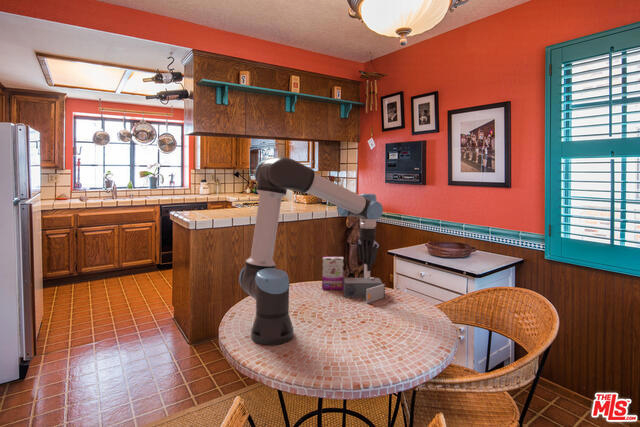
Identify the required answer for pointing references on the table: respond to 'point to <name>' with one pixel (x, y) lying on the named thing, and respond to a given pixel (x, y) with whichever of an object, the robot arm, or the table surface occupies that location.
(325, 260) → the candy bar box
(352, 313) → the table surface
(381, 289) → the door
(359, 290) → the case
